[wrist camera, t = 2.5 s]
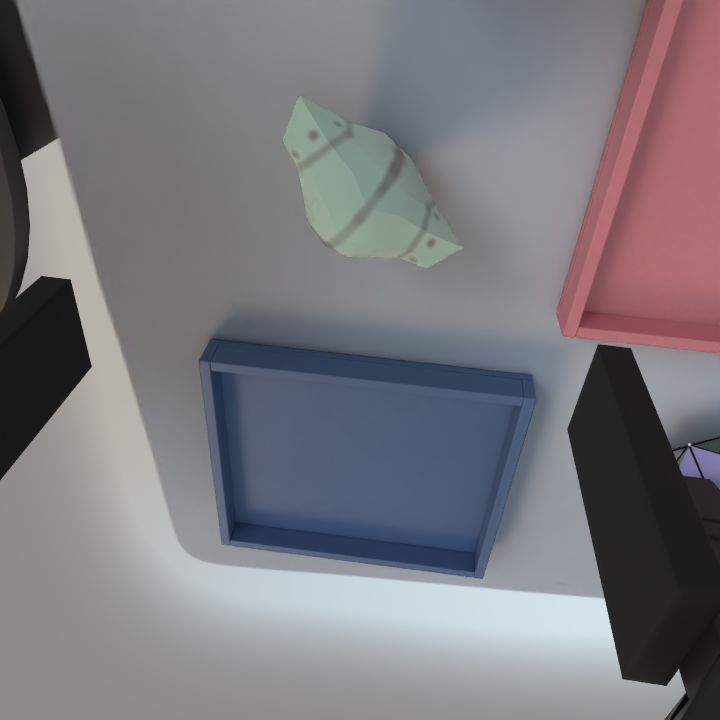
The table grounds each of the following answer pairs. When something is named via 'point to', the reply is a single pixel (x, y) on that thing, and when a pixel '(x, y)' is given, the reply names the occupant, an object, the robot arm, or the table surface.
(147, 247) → the table surface
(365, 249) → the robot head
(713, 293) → the rose tray
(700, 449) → the wire icosahedron model
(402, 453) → the blue tray
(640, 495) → the robot arm
